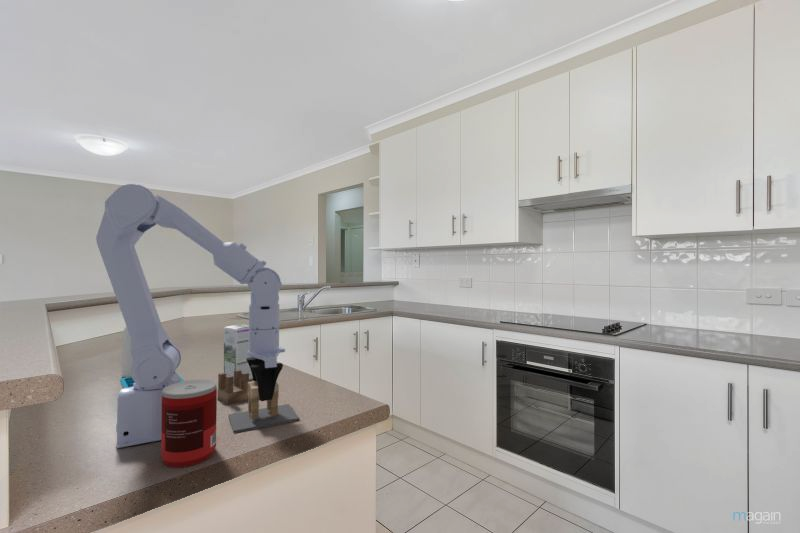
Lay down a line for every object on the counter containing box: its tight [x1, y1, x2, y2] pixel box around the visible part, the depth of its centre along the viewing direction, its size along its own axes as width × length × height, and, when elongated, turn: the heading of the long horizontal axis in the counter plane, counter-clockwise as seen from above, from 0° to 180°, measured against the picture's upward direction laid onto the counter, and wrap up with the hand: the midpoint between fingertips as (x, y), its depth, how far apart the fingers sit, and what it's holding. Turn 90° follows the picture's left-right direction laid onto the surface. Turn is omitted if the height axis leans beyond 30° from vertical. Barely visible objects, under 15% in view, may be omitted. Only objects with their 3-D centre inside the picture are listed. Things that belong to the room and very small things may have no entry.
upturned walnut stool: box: [217, 370, 250, 405], centre depth 86 cm, size 5×5×6 cm
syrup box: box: [223, 324, 253, 383], centre depth 102 cm, size 6×6×14 cm
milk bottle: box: [121, 325, 133, 378], centre depth 106 cm, size 8×8×20 cm
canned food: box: [160, 379, 218, 468], centre depth 60 cm, size 8×8×11 cm
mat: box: [227, 403, 301, 434], centre depth 75 cm, size 12×9×1 cm
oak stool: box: [247, 380, 280, 420], centre depth 75 cm, size 5×5×6 cm
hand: (263, 396), depth 75 cm, fingers closed on oak stool, 5 cm apart
